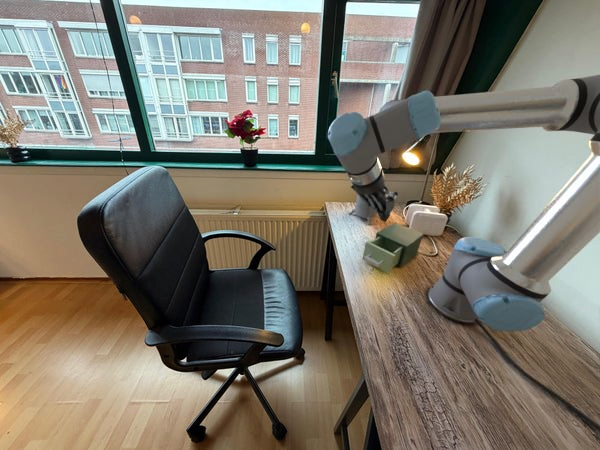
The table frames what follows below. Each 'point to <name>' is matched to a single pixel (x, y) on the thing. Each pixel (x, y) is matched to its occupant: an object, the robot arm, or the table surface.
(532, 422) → the table surface
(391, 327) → the table surface
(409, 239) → the cabinet
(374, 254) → the drawer
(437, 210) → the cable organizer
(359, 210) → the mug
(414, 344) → the table surface
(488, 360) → the table surface
